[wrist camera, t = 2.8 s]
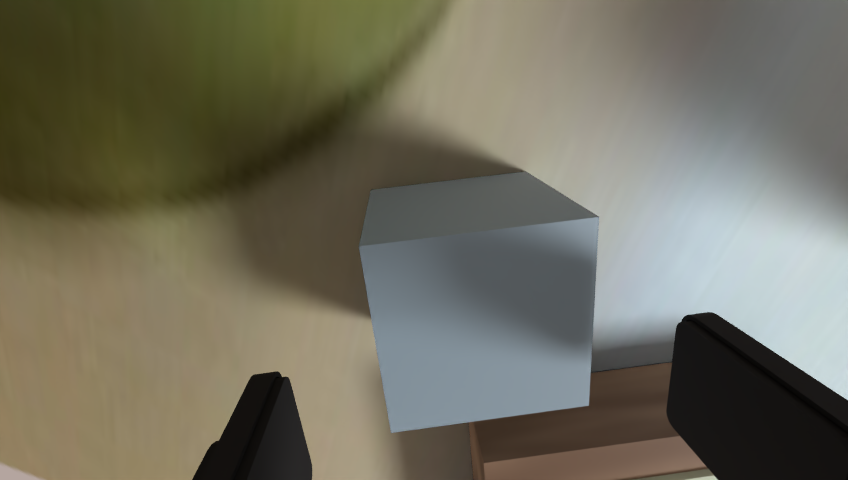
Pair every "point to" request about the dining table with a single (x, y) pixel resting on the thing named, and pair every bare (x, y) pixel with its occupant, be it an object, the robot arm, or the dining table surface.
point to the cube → (479, 298)
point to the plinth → (592, 436)
